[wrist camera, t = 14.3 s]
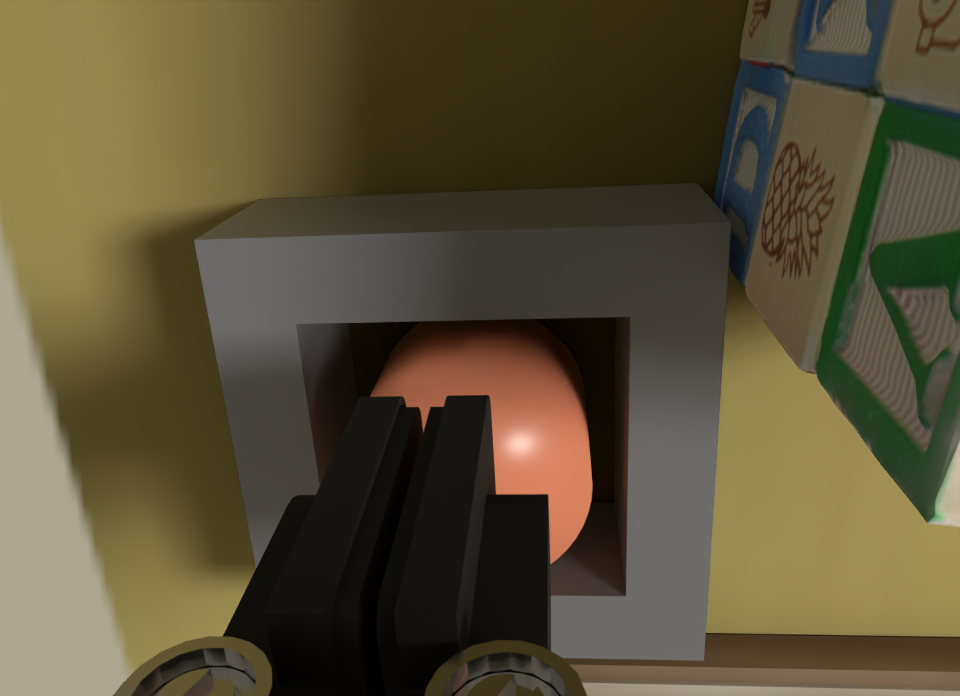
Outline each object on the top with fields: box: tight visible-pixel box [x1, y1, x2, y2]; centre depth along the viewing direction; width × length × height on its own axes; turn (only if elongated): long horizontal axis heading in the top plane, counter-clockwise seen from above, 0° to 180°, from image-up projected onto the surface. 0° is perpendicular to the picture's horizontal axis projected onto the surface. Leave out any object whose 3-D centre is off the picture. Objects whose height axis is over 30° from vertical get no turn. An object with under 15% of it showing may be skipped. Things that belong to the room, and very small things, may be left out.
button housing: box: [194, 183, 731, 661], centre depth 15 cm, size 8×8×3 cm
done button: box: [370, 319, 593, 564], centre depth 14 cm, size 4×4×3 cm
